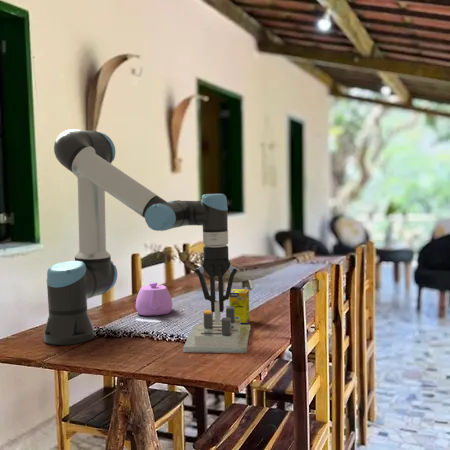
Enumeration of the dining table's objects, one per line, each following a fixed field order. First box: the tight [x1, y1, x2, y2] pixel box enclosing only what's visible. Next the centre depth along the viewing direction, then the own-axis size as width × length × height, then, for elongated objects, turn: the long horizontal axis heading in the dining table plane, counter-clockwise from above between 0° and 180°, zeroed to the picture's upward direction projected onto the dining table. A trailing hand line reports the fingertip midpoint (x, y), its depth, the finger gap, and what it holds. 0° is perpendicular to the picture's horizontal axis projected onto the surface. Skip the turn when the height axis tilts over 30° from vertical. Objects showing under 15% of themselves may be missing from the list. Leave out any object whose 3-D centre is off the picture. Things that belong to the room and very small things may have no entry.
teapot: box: [135, 282, 173, 316], centre depth 208 cm, size 13×20×11 cm
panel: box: [182, 318, 251, 354], centre depth 174 cm, size 18×24×4 cm
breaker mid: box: [203, 309, 214, 327], centre depth 174 cm, size 2×3×4 cm
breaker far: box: [225, 305, 235, 321], centre depth 180 cm, size 2×3×4 cm
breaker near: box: [221, 317, 231, 334], centre depth 167 cm, size 2×3×4 cm
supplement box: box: [228, 288, 250, 325], centre depth 193 cm, size 6×6×11 cm
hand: (217, 322), depth 174 cm, fingers closed
